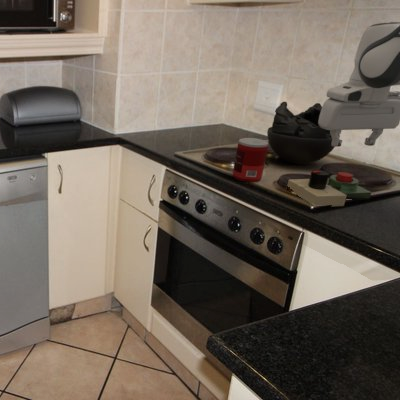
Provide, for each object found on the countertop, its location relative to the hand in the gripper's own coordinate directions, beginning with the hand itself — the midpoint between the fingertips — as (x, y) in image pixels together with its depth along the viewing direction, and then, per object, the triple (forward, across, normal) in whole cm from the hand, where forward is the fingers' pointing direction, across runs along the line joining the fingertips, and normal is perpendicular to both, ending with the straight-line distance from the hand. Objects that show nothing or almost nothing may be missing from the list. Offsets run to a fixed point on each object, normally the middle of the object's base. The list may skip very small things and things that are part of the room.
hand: (352, 145), depth 124 cm
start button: (+10, 0, 0) cm, 10 cm away
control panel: (+13, +9, +2) cm, 16 cm away
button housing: (+13, 0, 0) cm, 13 cm away
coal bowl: (+13, -4, -25) cm, 29 cm away
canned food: (+13, +19, -14) cm, 27 cm away
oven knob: (+10, +9, +2) cm, 14 cm away
